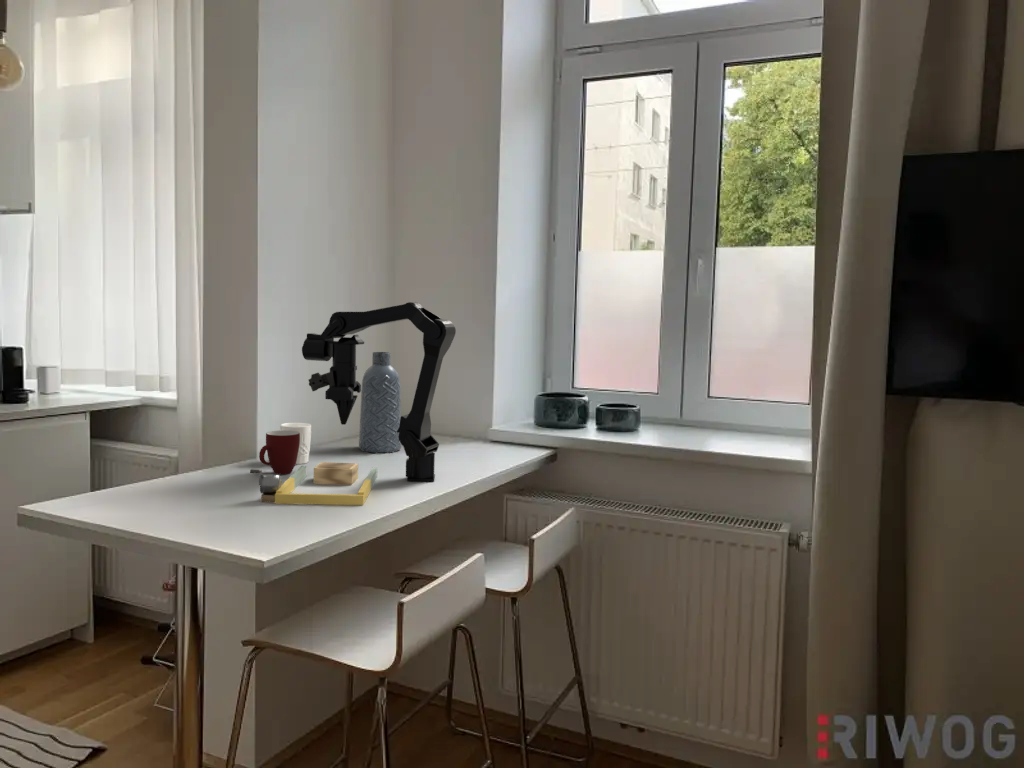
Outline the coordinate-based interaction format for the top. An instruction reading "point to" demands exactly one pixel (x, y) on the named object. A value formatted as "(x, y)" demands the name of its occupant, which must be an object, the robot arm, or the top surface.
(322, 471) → the box
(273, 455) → the mug
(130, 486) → the top surface
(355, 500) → the bay
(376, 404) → the vase
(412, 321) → the robot arm
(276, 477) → the winch
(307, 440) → the white cup
